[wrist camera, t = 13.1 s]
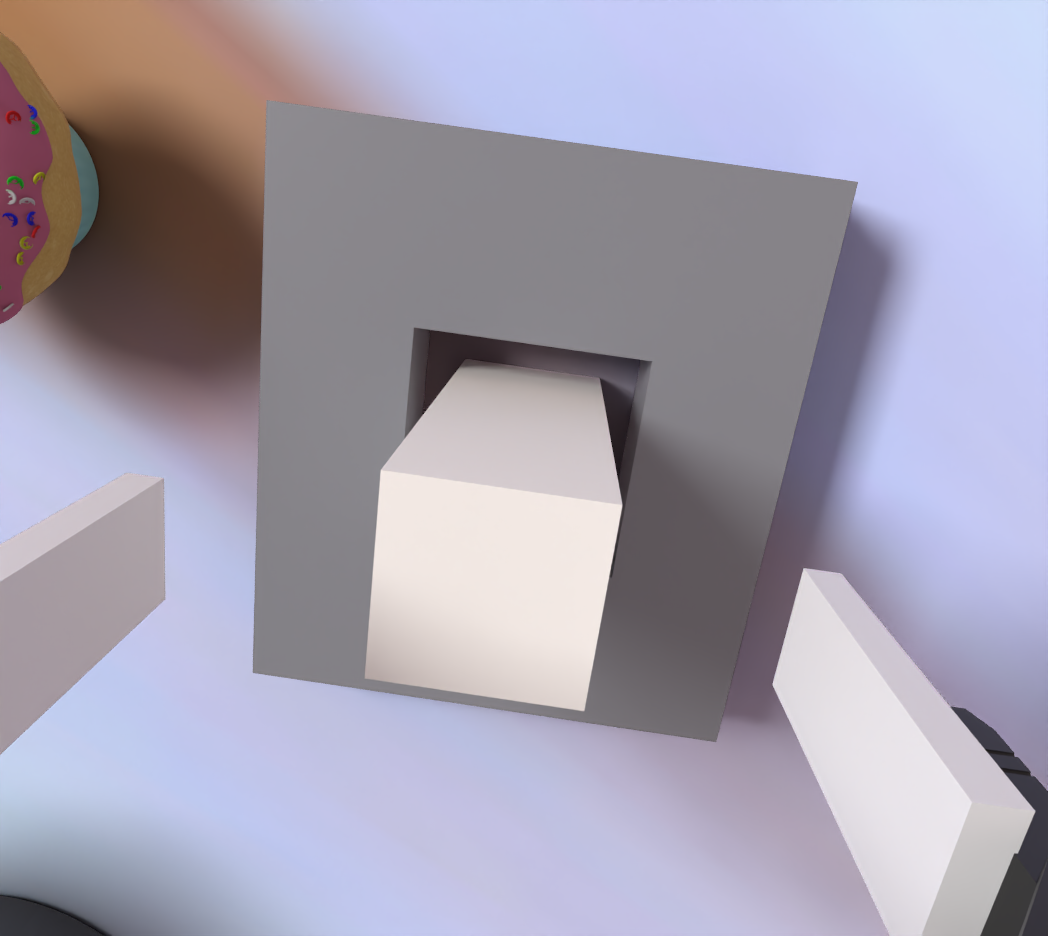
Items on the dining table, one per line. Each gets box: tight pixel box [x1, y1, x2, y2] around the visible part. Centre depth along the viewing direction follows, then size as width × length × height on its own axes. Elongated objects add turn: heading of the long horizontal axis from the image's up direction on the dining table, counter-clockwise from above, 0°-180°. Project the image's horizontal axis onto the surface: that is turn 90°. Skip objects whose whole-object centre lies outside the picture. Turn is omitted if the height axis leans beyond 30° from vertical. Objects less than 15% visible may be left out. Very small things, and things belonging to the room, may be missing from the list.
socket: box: [253, 100, 858, 742], centre depth 25 cm, size 18×16×3 cm
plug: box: [365, 359, 622, 711], centre depth 20 cm, size 4×4×12 cm
